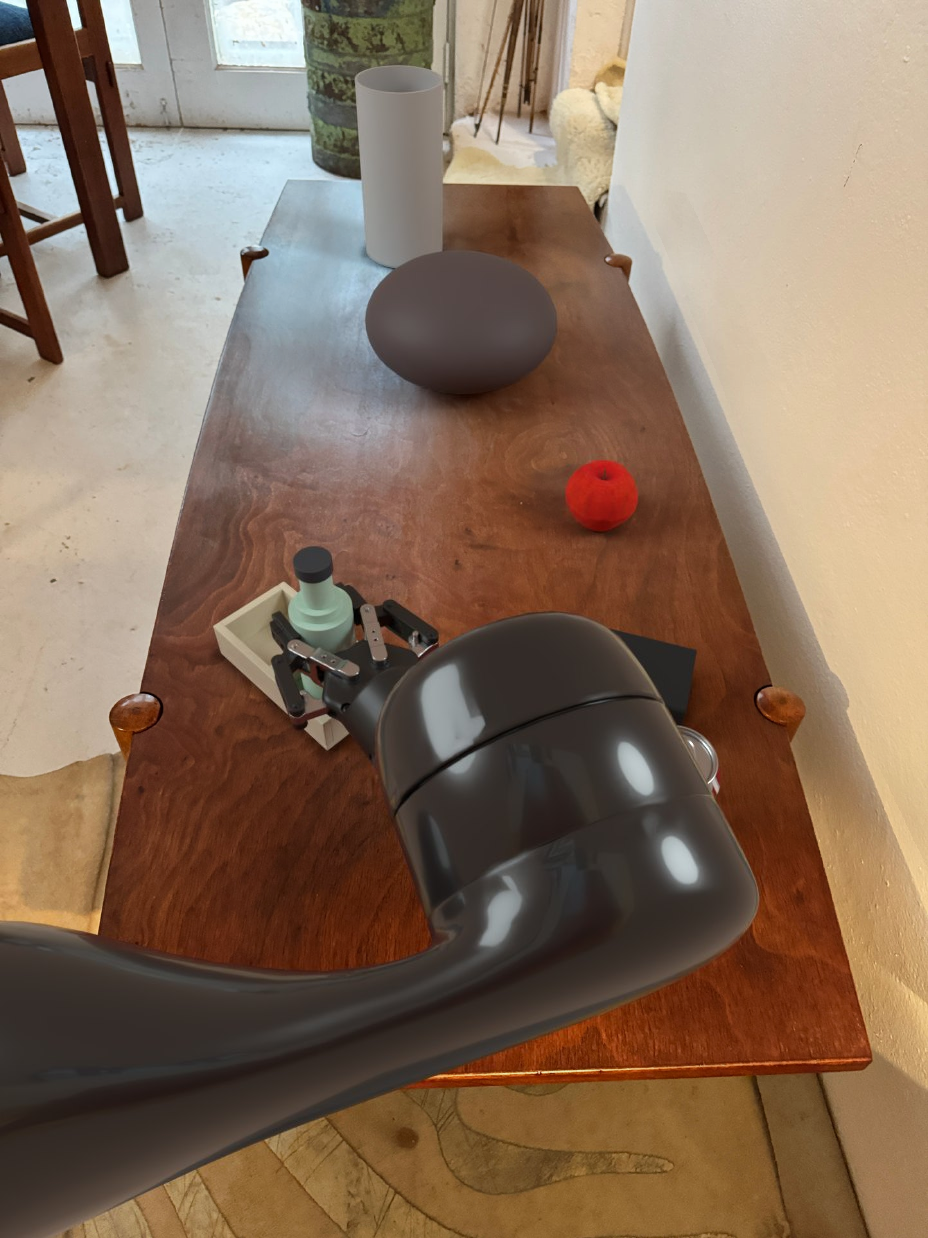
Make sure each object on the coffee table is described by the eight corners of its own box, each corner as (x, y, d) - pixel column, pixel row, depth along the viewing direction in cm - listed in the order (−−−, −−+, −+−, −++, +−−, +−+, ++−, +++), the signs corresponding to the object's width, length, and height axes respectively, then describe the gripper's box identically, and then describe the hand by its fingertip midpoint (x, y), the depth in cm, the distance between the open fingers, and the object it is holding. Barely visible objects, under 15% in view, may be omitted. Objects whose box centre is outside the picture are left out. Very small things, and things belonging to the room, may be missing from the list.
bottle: (329, 715, 74) (307, 593, 62) (291, 682, 76) (264, 559, 65) (373, 681, 76) (360, 558, 65) (335, 650, 79) (316, 527, 67)
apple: (574, 490, 99) (582, 438, 93) (639, 509, 97) (652, 456, 91) (552, 532, 94) (559, 480, 88) (621, 553, 92) (632, 500, 86)
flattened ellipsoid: (411, 312, 126) (408, 209, 115) (572, 346, 120) (586, 241, 109) (337, 399, 110) (326, 290, 99) (519, 443, 105) (529, 332, 94)
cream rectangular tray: (327, 751, 74) (322, 725, 71) (220, 653, 81) (212, 625, 78) (396, 696, 78) (394, 670, 75) (289, 608, 85) (283, 580, 82)
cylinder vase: (396, 278, 133) (390, 99, 114) (351, 249, 139) (337, 75, 120) (458, 256, 138) (460, 81, 119) (411, 229, 144) (407, 60, 126)
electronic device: (674, 744, 75) (686, 712, 72) (558, 713, 77) (564, 680, 74) (685, 682, 80) (697, 648, 77) (576, 654, 82) (582, 619, 78)
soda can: (599, 859, 68) (623, 781, 59) (616, 789, 72) (642, 707, 63) (682, 886, 67) (720, 810, 58) (695, 813, 71) (732, 732, 62)
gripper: (497, 664, 63) (375, 538, 72) (329, 760, 57) (220, 610, 66) (493, 723, 68) (380, 599, 78) (340, 815, 63) (237, 670, 72)
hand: (307, 605), depth 72 cm, fingers closed on bottle, 5 cm apart
